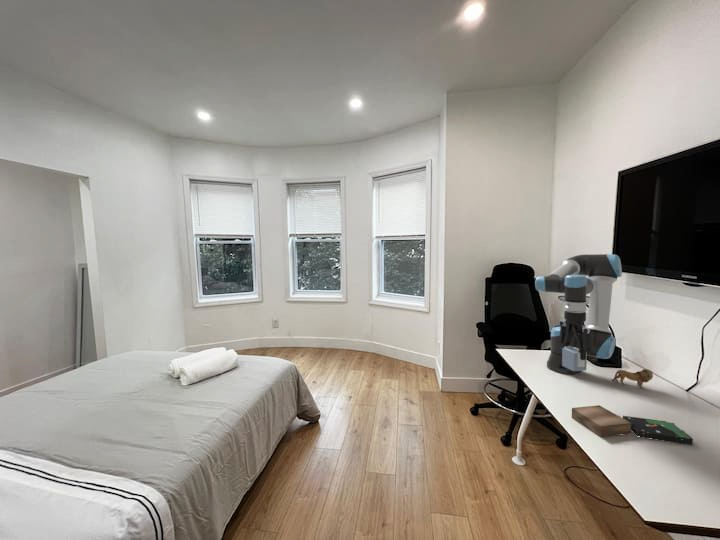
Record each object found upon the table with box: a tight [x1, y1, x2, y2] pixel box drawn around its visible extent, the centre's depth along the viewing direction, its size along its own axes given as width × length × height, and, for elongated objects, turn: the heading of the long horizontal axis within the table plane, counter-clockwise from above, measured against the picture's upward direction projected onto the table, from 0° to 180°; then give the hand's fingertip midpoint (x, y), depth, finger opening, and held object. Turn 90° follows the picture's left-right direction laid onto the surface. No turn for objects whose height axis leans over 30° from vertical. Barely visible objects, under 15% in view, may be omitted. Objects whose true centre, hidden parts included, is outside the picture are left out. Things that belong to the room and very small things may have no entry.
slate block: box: [562, 347, 588, 372], centre depth 125 cm, size 6×6×8 cm
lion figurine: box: [610, 368, 654, 390], centre depth 137 cm, size 15×5×9 cm, turn 56°
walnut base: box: [571, 404, 632, 438], centre depth 107 cm, size 12×12×4 cm
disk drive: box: [622, 415, 694, 446], centre depth 103 cm, size 10×3×15 cm
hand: (574, 363), depth 125 cm, fingers closed on slate block, 6 cm apart
